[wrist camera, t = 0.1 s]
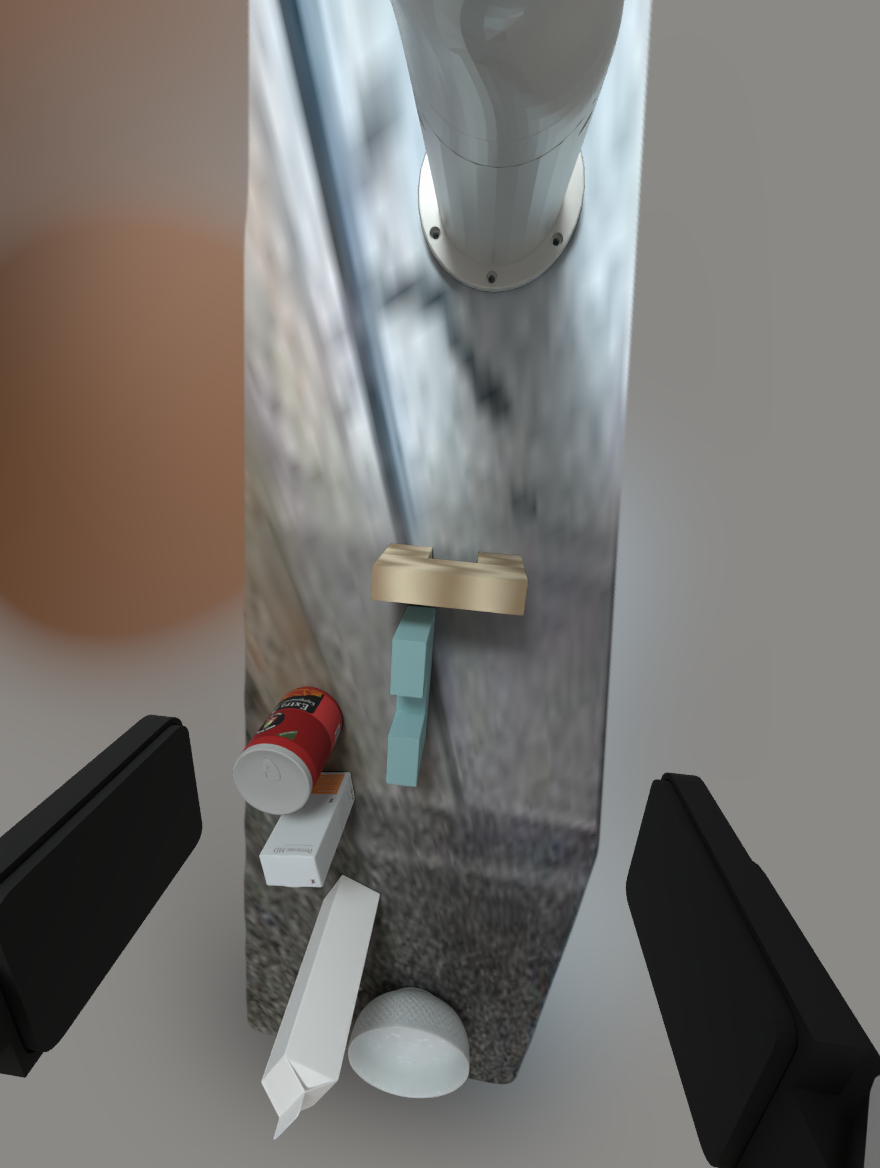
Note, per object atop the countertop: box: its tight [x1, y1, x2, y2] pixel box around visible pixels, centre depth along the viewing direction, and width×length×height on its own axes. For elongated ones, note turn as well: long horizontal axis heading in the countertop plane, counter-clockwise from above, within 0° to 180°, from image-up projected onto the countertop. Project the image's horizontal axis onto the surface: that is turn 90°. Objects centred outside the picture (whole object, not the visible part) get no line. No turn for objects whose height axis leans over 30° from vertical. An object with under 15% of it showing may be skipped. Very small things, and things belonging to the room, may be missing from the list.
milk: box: [262, 875, 380, 1139], centre depth 52 cm, size 6×6×22 cm
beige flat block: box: [371, 543, 528, 616], centre depth 42 cm, size 13×3×8 cm, turn 86°
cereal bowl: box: [348, 987, 470, 1098], centre depth 66 cm, size 17×17×7 cm
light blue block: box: [386, 605, 436, 787], centre depth 46 cm, size 16×3×8 cm, turn 176°
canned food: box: [233, 687, 342, 815], centre depth 48 cm, size 8×8×11 cm
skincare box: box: [259, 772, 355, 887], centre depth 51 cm, size 6×4×12 cm
